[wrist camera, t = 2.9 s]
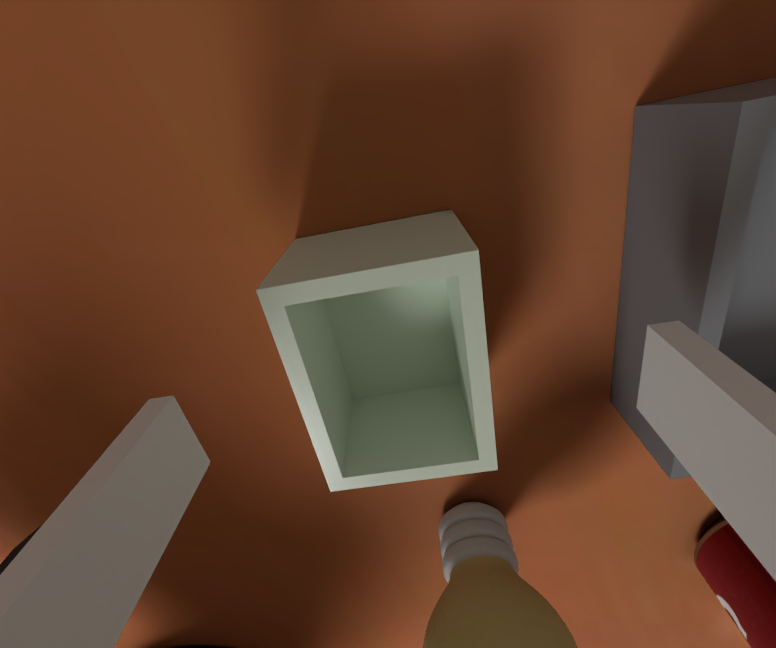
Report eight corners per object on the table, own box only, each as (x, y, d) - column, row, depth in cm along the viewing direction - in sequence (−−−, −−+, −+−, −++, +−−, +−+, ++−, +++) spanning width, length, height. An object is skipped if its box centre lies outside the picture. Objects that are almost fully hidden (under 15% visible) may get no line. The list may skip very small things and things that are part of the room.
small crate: (344, 403, 19) (330, 492, 14) (294, 239, 15) (255, 289, 11) (471, 384, 18) (497, 469, 14) (451, 209, 15) (478, 249, 10)
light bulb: (395, 535, 23) (399, 793, 14) (445, 463, 21) (487, 725, 12) (491, 562, 25) (548, 815, 16) (549, 496, 22) (659, 758, 13)
